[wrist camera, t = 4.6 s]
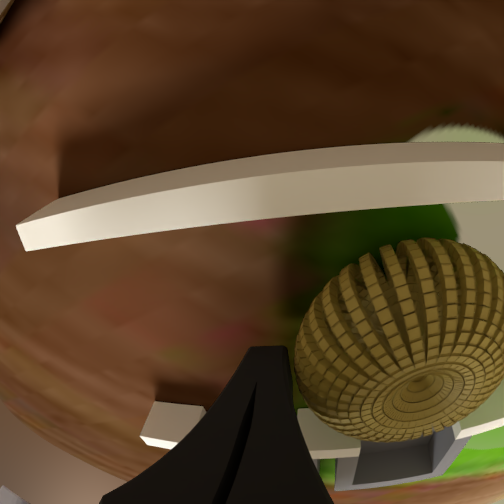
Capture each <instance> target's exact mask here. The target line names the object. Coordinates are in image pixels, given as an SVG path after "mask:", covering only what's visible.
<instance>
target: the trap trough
mask: <svg viewBox="0 0 504 504" xmlns="http://www.w3.org/2000/svg"><path fill="white" fill-rule="evenodd" d="M483 201H504V143H485V142H411V143H387V144H369V145H354V146H342V147H330V148H320V149H310V150H301V151H292V152H284V153H276V154H268V155H261V156H254V157H247V158H241V159H234V160H228V161H222V162H216V163H210V164H205V165H199V166H194V167H188V168H183V169H178V170H173V171H168V172H163V173H159V174H154V175H149V176H145V177H140V178H136V179H132V180H127V181H123V182H119V183H115V184H111V185H107V186H103V187H99V188H95V189H91V190H88V191H84V192H80V193H77V194H73V195H69V196H66V197H62V198H59V199H57V200H55V201H53V202H52V203H50V204H48V205H47V206H45V207H43V208H42V209H40V210H39V211H37V212H35V213H34V214H32V215H31V216H29V217H28V218H26V219H25V220H23V221H22V222H20V223H18V224H17V225H16V228H17V230H18V233H19V236H20V238H21V240H22V243H23V245H24V248H25V250H26V251H31V250H37V249H43V248H49V247H56V246H62V245H68V244H75V243H81V242H88V241H95V240H102V239H109V238H115V237H123V236H130V235H137V234H144V233H152V232H159V231H167V230H175V229H183V228H191V227H199V226H207V225H215V224H224V223H233V222H241V221H250V220H260V219H269V218H279V217H288V216H298V215H308V214H319V213H330V212H341V211H352V210H364V209H376V208H389V207H402V206H416V205H431V204H447V203H463V202H483ZM205 414H206V411H205V409H204V407H203V406H195V405H184V404H174V403H165V402H157V401H154V404H153V406H152V408H151V411H150V413H149V415H148V417H147V420H146V422H145V424H144V427H143V429H142V431H141V434H140V437H141V438H142V439H143V440H144V441H145V443H146V444H147V445H151V446H156V447H162V448H167V449H172V448H173V447H174V446H176V445H177V444H178V443H179V442H180V441H181V440H182V439H183V438H184V437H185V436H186V435H187V434H188V433H189V432H190V431H191V430H192V429H193V428H194V426H195V425H196V424H197V423H198V422H199V421H200V420H201V419H202V417H203V416H204V415H205ZM297 419H298V422H299V425H300V428H301V431H302V434H303V437H304V439H305V442H306V445H307V447H308V450H309V452H310V455H311V457H312V460H313V462H314V464H315V466H316V468H317V471H318V473H319V471H320V459H329V458H335V491H342V490H355V489H365V488H374V487H382V486H389V485H395V484H402V483H407V482H413V481H418V480H423V479H428V478H432V477H436V476H441V475H443V474H444V472H445V471H446V470H447V469H448V467H449V466H450V465H451V464H452V462H453V461H454V460H455V458H456V457H457V456H458V454H459V453H460V452H461V450H462V449H463V448H464V446H465V445H466V443H467V442H468V440H469V439H470V438H471V436H472V435H475V434H479V433H482V432H485V431H489V430H492V429H495V428H498V427H501V426H504V379H503V380H502V381H501V384H500V385H499V386H498V388H497V389H496V390H495V391H494V392H493V394H492V395H491V396H490V397H489V398H488V399H487V400H486V401H484V402H483V404H481V405H480V406H479V408H477V409H475V411H474V412H472V413H470V414H469V415H468V416H467V417H465V418H464V419H462V420H460V421H457V423H455V424H454V425H452V426H450V427H446V426H444V427H445V428H444V430H441V431H439V432H435V430H434V428H433V426H432V434H431V435H428V436H425V437H424V436H423V433H421V434H422V435H421V437H420V438H417V439H413V440H410V438H408V440H406V441H401V442H397V441H396V442H389V443H384V442H381V441H380V442H372V441H369V440H368V441H364V440H359V439H355V438H352V437H350V436H349V437H348V436H345V435H344V434H342V433H339V432H337V431H335V430H333V428H330V427H328V425H327V424H324V423H323V421H321V420H320V419H319V418H318V417H317V416H316V415H314V412H313V411H311V410H310V409H309V408H301V409H298V415H297ZM431 425H433V424H431Z"/></svg>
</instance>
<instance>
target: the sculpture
mask: <svg viewBox="0 0 504 504" xmlns="http://www.w3.org/2000/svg"><path fill="white" fill-rule="evenodd" d="M434 239H435V238H425V239H423V238H421V239H417V241H416V242H415V241H414V240H411V239H408V240H407V241H406V240H403V241H400V242H398V245H397V246H398V247H397V248H396V254H395V252H394V250H393V248H392V247H391V245H390V244H388V246H387V245H385V247H384V246H382V248H381V247H380V248H379V250H380V255H381V259H382V263H383V267H384V270H385V274H386V277H387V279H386V277H385V275H384V274H383V272H382V270H381V268H380V267H379V265H377V264H378V263H376V260H375V258H374V257H373V256H372V254H370V253H367V255H366V254H365V256H364V255H363V257H362V256H361V257H360V258H359V264H360V263H361V264H360V266H359V265H357V264H355V265H354V264H353V263H352V264H349V266H348V265H347V266H346V267H345V269H344V268H343V269H342V270H341V272H340V274H341V275H340V274H339V276H338V275H337V276H335V277H333V278H332V279H331V280H330V281H329V282H328V283H327V284H326V285H325V286H324V287H323V292H322V291H321V292H320V294H318V295H317V296H316V297H315V299H314V300H313V301H312V302H313V303H311V304H312V305H311V306H310V308H309V310H308V311H307V312H306V314H305V316H304V318H303V320H302V322H301V325H300V330H299V333H298V334H297V338H296V340H297V341H296V344H295V348H294V349H295V357H294V362H295V363H294V371H295V374H296V381H297V384H298V385H299V386H298V388H299V391H300V393H301V394H302V395H303V399H305V400H304V401H305V402H306V404H307V406H308V407H309V409H310V410H311V411H313V412H314V415H316V416H317V417H318V418H319V419H320V420H321V421H323V423H324V424H327V425H328V427H330V428H333V430H335V431H337V432H339V433H342V434H344V435H345V436H348V437H349V436H350V437H352V438H355V439H359V440H364V441H368V440H369V441H372V442H380V441H381V442H384V443H389V442H396V441H397V442H401V441H406V440H408V438H410V440H413V439H417V438H420V437H421V435H422V434H421V433H423V436H424V437H425V436H428V435H431V434H432V426H433V428H434V430H435V432H439V431H441V430H444V428H445V427H444V426H446V427H450V426H452V425H454V424H455V423H457V421H460V420H462V419H464V418H465V417H467V416H468V415H469V414H470V413H472V412H474V411H475V409H477V408H479V406H480V405H481V404H483V402H484V401H486V400H487V399H488V398H489V397H490V396H491V395H492V394H493V392H494V391H495V390H496V389H497V388H498V386H499V385H500V384H501V381H502V380H503V379H504V273H503V271H502V270H500V269H499V268H498V266H497V265H496V264H495V263H494V262H493V261H492V260H491V259H490V258H489V257H488V256H486V255H485V254H482V253H481V252H479V251H477V250H476V249H475V248H472V247H471V246H469V245H466V244H464V243H463V245H462V244H461V243H458V242H455V241H454V240H449V239H441V238H440V239H441V240H440V239H438V240H436V239H435V240H434ZM413 241H414V242H413ZM407 257H408V259H407ZM407 261H408V263H407V264H406V263H405V262H407ZM405 266H407V267H406V268H405ZM406 272H407V273H406ZM405 273H406V274H405ZM356 278H357V280H356ZM359 280H360V281H359ZM358 281H359V282H358ZM387 282H388V283H387ZM364 284H365V285H364ZM388 284H389V285H388ZM339 288H340V289H339ZM371 313H372V314H371ZM335 339H337V340H335ZM494 340H495V341H494ZM339 346H340V347H339ZM340 370H341V371H340ZM337 376H338V377H337ZM336 378H337V379H336ZM335 380H336V381H335ZM412 401H413V402H412ZM431 424H433V425H431Z"/></svg>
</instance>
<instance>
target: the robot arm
mask: <svg viewBox="0 0 504 504" xmlns="http://www.w3.org/2000/svg"><path fill="white" fill-rule="evenodd" d="M0 504H30V503H28V502H27V501H25V500H24V499H22V498H21V497H19V496H18V495H16V494H15V493H14V492H12V491H11V490H9V489H8V488H7V487H5V486H2V487H1V489H0ZM99 504H334V503H333V501H332V499H331V497H330V495H329V493H328V491H327V489H326V488H325V485H324V483H323V481H322V479H321V477H320V475H319V473H318V471H317V468H316V466H315V464H314V462H313V460H312V457H311V455H310V452H309V450H308V447H307V445H306V442H305V439H304V437H303V434H302V431H301V428H300V425H299V422H298V419H297V415H296V412H295V409H294V405H293V381H292V375H291V369H290V363H289V356H288V350H287V348H286V347H285V346H256V347H250V348H249V349H248V351H247V352H246V354H245V356H244V358H243V360H242V361H241V363H240V365H239V366H238V368H237V370H236V371H235V373H234V375H233V376H232V378H231V379H230V381H229V382H228V384H227V385H226V387H225V388H224V390H223V391H222V393H221V394H220V395H219V397H218V398H217V400H216V401H215V402H214V403H213V405H212V406H211V407H210V409H209V410H208V411H207V412H206V414H205V415H204V416H203V417H202V419H201V420H200V421H199V422H198V423H197V424H196V425H195V426H194V428H193V429H192V430H191V431H190V432H189V433H188V434H187V435H186V436H185V437H184V438H183V439H182V440H181V441H180V442H179V443H178V444H177V445H176V446H174V447H173V448H172V449H171V450H170V451H169V452H168V453H167V454H166V455H164V456H163V457H162V458H161V459H160V460H158V461H157V462H156V463H154V464H153V465H152V466H150V467H149V468H148V469H146V470H145V471H143V472H142V473H141V474H139V475H138V476H136V477H135V478H133V479H132V480H130V481H129V482H127V483H125V484H123V485H122V486H120V487H118V488H117V489H115V490H113V491H111V492H109V493H107V494H105V495H104V496H103V497H102V499H101V501H100V502H99Z"/></svg>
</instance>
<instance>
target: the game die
mask: <svg viewBox="0 0 504 504" xmlns="http://www.w3.org/2000/svg"><path fill="white" fill-rule="evenodd" d="M14 1H15V0H0V24H1V22H2V21H3V19H4V17H5V15H6V14H7V12H8V10H9V9H10V7H11V5H12V4H13V2H14Z"/></svg>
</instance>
